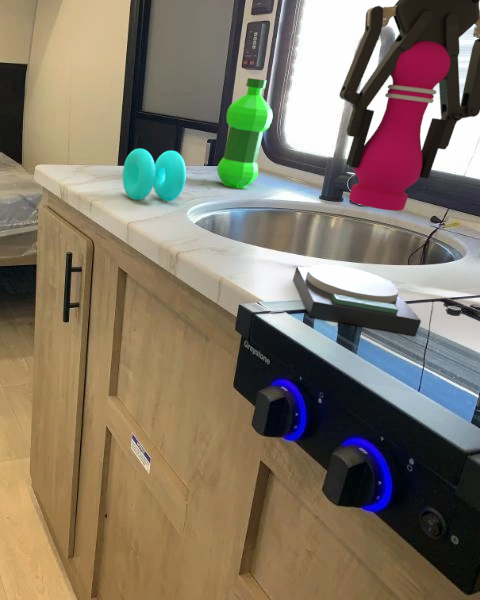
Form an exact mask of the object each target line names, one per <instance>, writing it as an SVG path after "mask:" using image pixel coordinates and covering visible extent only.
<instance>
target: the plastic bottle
mask: <svg viewBox="0 0 480 600" xmlns="http://www.w3.org/2000/svg"><path fill="white" fill-rule="evenodd" d="M267 82H268V81H267V80H266V79H259V78H252V77H251V78H250V77H248V78H247V80H246V85H245V87H247V91H246V92H247V93H246V94H244V95H242V96H241V97H240V98H239V97H238V99H236V100H235V101H234V102H232V103H231V104H230V105H229V107H228V108H227V111H226V116H225V117H226V124H227V125H228V127H229V128H228V134H227V138H226V142H225V143H226V144H225V148H224V152H223V157H222V158H221V159H220V161H219V163H218V164H217V167H216V172H217V176H218V177H219V179H220V180H221V182H222V183H223V185H224V186H225V187H229V188H234V189H245V188H246V187H248V186H250V185H251V184H252V183H254V182H255V181H256V179H257V178H258V175H259V165H258V158H259V153H260V148H261V144H262V139H263V135H264V132H265V131H267V130H268V129H269V128H270V125H271V124H272V122H273V121H272V120H273V110H272V108H271V106H270V105H269V104H268V102H267V101H266V99H264V97H263V96H262V92H263V90H265V89H266V85H267Z"/></svg>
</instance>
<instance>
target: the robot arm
mask: <svg viewBox="0 0 480 600" xmlns="http://www.w3.org/2000/svg"><path fill="white" fill-rule="evenodd" d="M392 18H393V19H394V22H395V25H396V27H397V30H398V33H399V34H398V35H397V36H396V38H395V39H394V40H393V42H392V43H391V45H390V47H389V49H388V51H387V52H386V54H385V55H384V56H383V58H382V60H380V62H379V64H378V65H377V67H376V68H375V70H374V71H373V72H372V74H371V75H370V77H369V78H368V79H367V81H366V82H365V84H364V85H363V87H362V88H361V89H360V91H359V92H357V91H358V90H359V87H360V85H361V82H362V80H363V77H364V75H365V73H366V70H367V68H368V65H369V63H370V60H371V58H372V56H373V53H374V51H375V48H376V46H377V44H378V42H379V38H380V36H381V33H382V29H384V28H385V27H386V26H388V24H389V23H390V20H391V19H392ZM364 21H365V24H364V32H363V34H362V37H361V39H360V42H359V44H358V47H357V50H356V51H355V54H354V57H353V59H352V62H351V64H350V65H349V66H350V67H349V69H348V71H347V73H346V76H345V79H344V81H343V84H342V86H341V89H340V91H339V94H338V95H339V98H340V99H341V100H343V101H345V102H347V103H349V104H350V105H351V107H352V109H351V113H350V116H349V120H348V123H347V128H346V135H347V136H348V137H351V138H352V142H351V144H350V148H349V152H348V155H347V159H346V161H345V164H346V165H347V166H348V167H350V168H353V169H354V168H358V165H359V161H360V158H361V155H362V151H363V148H364V145H365V144H366V141H367V139H368V134H369V131H370V127H371V124H372V121H373V117H374V113H375V110H372V109H368V107H369V106H370V105H371V103H372V102H373V100H374V99H375V97H376V96H377V95H378V93H379V92H380V91H381V89H382V88H383V86H384V84H385V83H386V82H387V81H388V79H389V77H391V73H392V72H393V71H394V69H395V68H396V63H397V61H398V58H399V56H400V55H401V53H402V52H405V51H407V50H409V49H411V47H412V46H413V44H414V43H415V42H420V41H432V42H436V43H439V44H441V45H443V46H444V47H445V48H446V51H447V53H448V55H449V56H450V59H451V60H450V68H449V71H448V73H447V75H446V77H445V78H444V79H443V80H442V81H440V82H439V83H438V87H439V88H438V89H439V90H438V91H439V105H440V107H439V109H440V116H441V117H440V118H435V117H432V118H431V121H430V124H429V127H428V130H427V132H426V136H425V139H424V142H423V145H422V147H421V150H422V169H421V173H420V177H419V178H422V179H429V177H430V175H431V172H432V168H433V165H434V162H435V160H436V157H437V154H438V151H439V150H446V149H447V148H448V146H449V144H450V142H451V138H452V135H453V133H454V129H455V127H456V124H457V122H459V121H461V120H463V119H466V118H474V117H477V116H478V115H479V114H480V0H397V1H396V3H395V4H394V5H389V6H381V5H376V6H372V7H371V8H368V10H366V13H365V20H364ZM471 28H473V33H472V37H473V38H474V42H473V45H472V47H471V52H470V57H469V61H468V67H467V72H466V76H465V81H464V86H463V91H462V96H461V95H460V93H461V91H460V90H461V89H460V72H459V55H460V38H461V37H462V36H463V35H464V34H465V33H466V32H467V31H468V30H470V29H471Z"/></svg>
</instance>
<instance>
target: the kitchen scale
mask: <svg viewBox="0 0 480 600" xmlns="http://www.w3.org/2000/svg"><path fill="white" fill-rule="evenodd" d="M292 280H293V283H294V284H295V287H296V289H297V291H298V294H299V296H300V299H301V301H302V303H303V306H304V308H305V310H306V313H307V315H308V317H309V318H312V319H313V318H314V319H317V320H324V321H329V322H335V323H340V324H346V325H352V326H357V327H364V328H369V329H374V330H375V329H376V330H381V331H386V332H391V333H398V334H403V335H408V336H412V337H413V336H415V337H416V336H417V333H418V331H419V328H420V326H421V323H422V320H421V318H420V317H419V316H418V315H417V314H416V313H415V311H413V310H412V308H411V306H409V305H408V304H407V302H406V301H405V300H404V299H403V298H402V296H401V295H400V288H399V287H398V286H397V285H396V284H395V283H393V282H391V281H390V280H388V279H386V278H385V277H381V276H379V275H377V274H373V273H371V272H368V271H364V270H362V269H358V268H353V267H348V266H344V265H343V266H341V265H334V264H316V265H312V266H309V267H305V266H299V265H297V266H296V268H295V272H294V274H293V278H292Z"/></svg>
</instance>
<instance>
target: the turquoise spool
mask: <svg viewBox="0 0 480 600" xmlns="http://www.w3.org/2000/svg"><path fill="white" fill-rule="evenodd" d="M186 180H187V167H186V163H185V160H184V158H183V156H182V155H181V154H180V153H179V152H178V151H176V150H166V151H164V152H162V153H161V154H160V155H159V156H158V158H157V159H156V160H154V159H153V156H152V154H151V153H150V152H149V151H148V150H147V149H145V148H140V147H139V148H134V149H133V150H132V151H130V153H129V154H128V155H127V157H125V161H124V164H123V169H122V185H123V188H124V192H125V194H126V195H127V196H128V197H129V198H130V199H131V200H134V201H142V200H143V199H145V198H147V197H148V196H149V195H150V193H151V192H152V190H154V192H155V194H156V195H157V197H158V198H159V199H161V200H162V201H165V202H172V201H174V200H176V199H178V197H180V195H181V194H182V192H183V190H184V188H185V185H186Z"/></svg>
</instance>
